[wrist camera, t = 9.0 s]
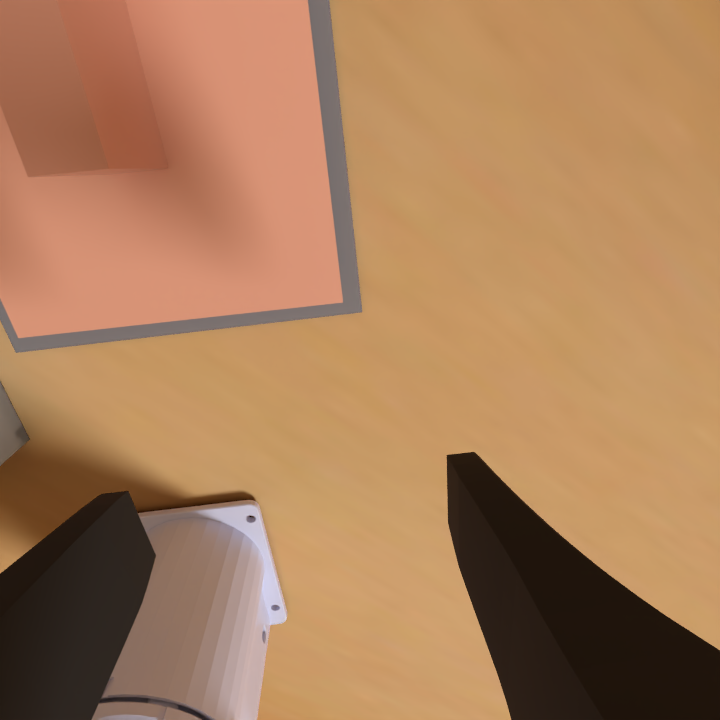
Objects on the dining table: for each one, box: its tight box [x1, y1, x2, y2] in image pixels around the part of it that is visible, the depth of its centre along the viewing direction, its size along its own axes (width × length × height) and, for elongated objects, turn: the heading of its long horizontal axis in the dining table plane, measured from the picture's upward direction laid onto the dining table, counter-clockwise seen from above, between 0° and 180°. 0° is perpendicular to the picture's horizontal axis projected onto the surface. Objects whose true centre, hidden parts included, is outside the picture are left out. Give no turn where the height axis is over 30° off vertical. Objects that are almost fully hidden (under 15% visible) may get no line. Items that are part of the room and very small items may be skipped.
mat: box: [0, 0, 362, 353], centre depth 15 cm, size 19×15×1 cm
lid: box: [0, 0, 343, 338], centre depth 12 cm, size 17×13×6 cm
